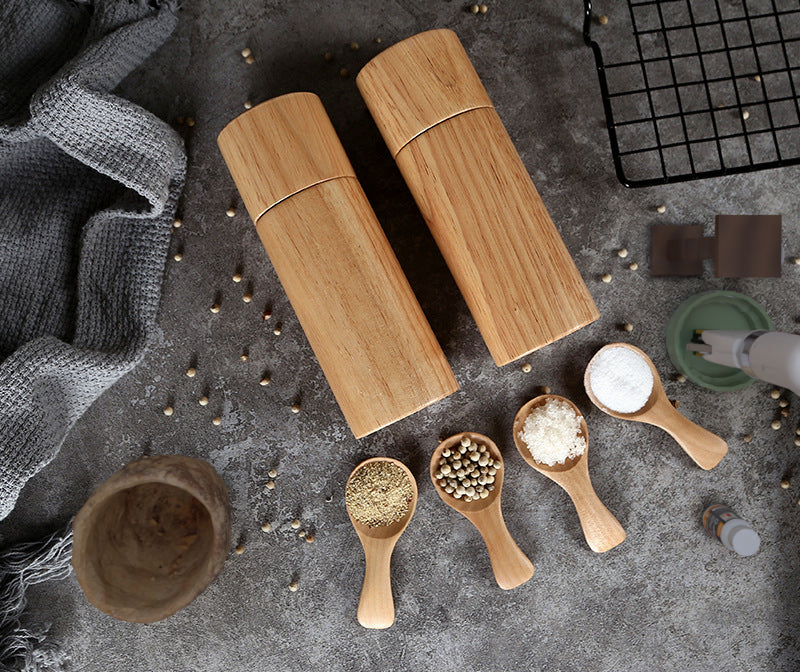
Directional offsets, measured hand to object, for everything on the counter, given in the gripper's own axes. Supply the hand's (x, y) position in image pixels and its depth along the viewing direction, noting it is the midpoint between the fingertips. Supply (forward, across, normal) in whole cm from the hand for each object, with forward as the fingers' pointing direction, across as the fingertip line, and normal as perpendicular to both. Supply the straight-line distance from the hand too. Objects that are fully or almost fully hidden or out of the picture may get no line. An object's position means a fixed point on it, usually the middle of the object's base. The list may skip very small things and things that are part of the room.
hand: (709, 342), depth 112 cm
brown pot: (+3, +91, +28) cm, 96 cm away
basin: (+4, -3, 0) cm, 5 cm away
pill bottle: (+5, -4, +33) cm, 33 cm away
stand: (+4, +4, -16) cm, 17 cm away
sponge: (+2, 0, 0) cm, 2 cm away
